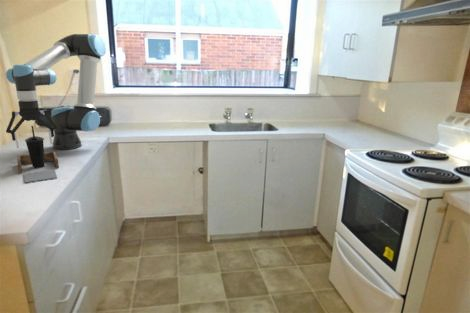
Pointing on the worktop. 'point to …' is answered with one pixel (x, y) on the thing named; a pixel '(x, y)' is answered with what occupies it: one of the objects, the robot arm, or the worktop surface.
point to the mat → (39, 176)
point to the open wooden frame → (27, 160)
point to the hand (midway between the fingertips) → (35, 145)
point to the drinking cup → (36, 150)
